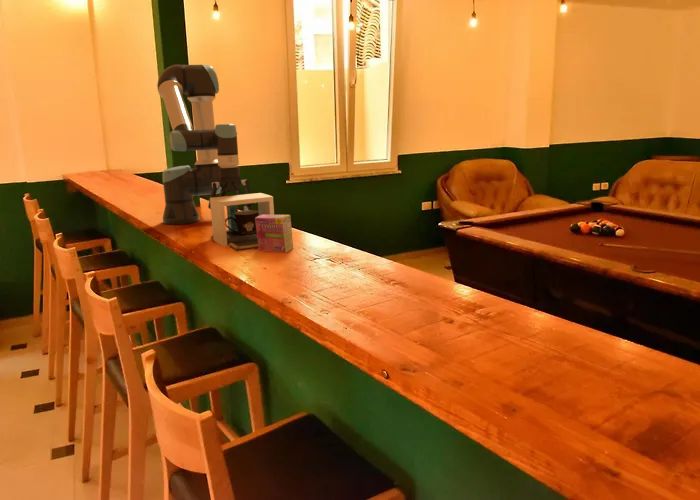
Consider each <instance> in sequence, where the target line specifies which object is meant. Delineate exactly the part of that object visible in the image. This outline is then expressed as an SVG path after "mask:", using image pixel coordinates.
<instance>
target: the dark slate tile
mask: <svg viewBox="0 0 700 500" xmlns="http://www.w3.org/2000/svg"><path fill="white" fill-rule="evenodd" d="M228 247H229V248H231V249H233V250H234V251H235V252H241V251H242V252H243V251H247V250H255V249H259V248H258V241H254V242H247V243H240V244H233V243H229V245H228Z"/></svg>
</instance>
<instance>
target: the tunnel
mask: <svg viewBox="0 0 700 500" xmlns="http://www.w3.org/2000/svg"><path fill="white" fill-rule="evenodd" d="M243 194H244V195H238V194H236V195H234V194H233V195H225V196H224V197H218V196H215V197H214V198H210V197H209V200H210V206H211V209H210V215H211V227H212V237H213V238H212V239H213V241H214V242H215V243H217V244H218V245H220V246H222V247H228V244H227V234H226V230H227V227H226V225H227V221H226V222H225V220H226V214H225V213H226V212H225V207H227V206H230V205H245V204H248V203H255V204H257V207H258V210H257V211H259V216H260V215H263V214H269V215H275V207H274V206H275V204H274V196H272V195H270V194H266V193H262V192H258V193H255V192H254V193H252V194H247V193H243Z"/></svg>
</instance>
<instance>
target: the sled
mask: <svg viewBox="0 0 700 500" xmlns="http://www.w3.org/2000/svg"><path fill="white" fill-rule="evenodd" d="M238 211H239V206H238V205H230V206H226V215H227V217H226V218H229V217H232V218H235V214H234V213H235V212H238ZM227 226H228V227H229V228H231V229H233V230H235V231H237V232H238V229H237V224H236V223H235V221H234V220H233V219H228V220H227ZM229 228H227V229H226V234H227V246H229V243H233V244H240V243H247V242H254V241H258V239H257V234H251V235H243V236H239V235H238V234H237V233H236V232H234V231H232V230H230V229H229Z"/></svg>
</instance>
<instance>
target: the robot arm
mask: <svg viewBox="0 0 700 500" xmlns="http://www.w3.org/2000/svg"><path fill="white" fill-rule="evenodd" d="M156 85H157V92H158V94H159V96H160V97H161V99H163V103H164V107H165V110H166V112H167V115H168V119H169V123H170V127H171V129H172V131H170V132H169V144H170V149H171V150H172V151H173V152H192V151H193V152H194V151H196V157H197V159H196V160H197V161H196V162H195V163H194V168H191V166H190V165H179V166H178V165H177V166H174V167H168V168H166V169H164V170H163V171H162V184H163V185H162V186H163V193H164V195H163V196H164V202H165V205H164V210H163V214H162V223H163V224H164V223H165V225H185V224H192V223H197V222H199V221H200V215H199V212H198V210H197V207H196V204H195V202H194V197H195V196H207V195H210V196H209V201H208V205H207V206H208V207H207V208H208V209H209V210H211V206H210V198H214V197H224V196H226V194H227V193H231V192H233V193H235V192H236V193H237V195H244V194H253V193H252V191H251V188H250V181H249V180H248V179H246V178H245V179H241V174H240V173H241V172H240V167H239V165H240V163H239V162H240V161H239V149H238V132H237V128H236V127H237V125H236V124H234V123H217V124H215V115H214V114H215V113H214V105H213V101H214V100H215V99H216V95H217V94H218V93H219V91H220V88H219V87H220V86H219V85H220V84H219V78H218V75H217V72H216V70H215V68H214V67H213V66H212V65H208V64H172V65H170V66H168V67H166V68H165V69H164V70H163V71H162V72H161V73H160V75H159V77H158V80H157V84H156ZM183 95H186V98H187V100H188V101H189V102H190V103H191V108H192V109H191V110H192V111H191V112H192V119H193V124H192V120H191V117H190V113H189V112H188V108H187V105H186V103H185V102H186V101H185V100H184V96H183ZM241 185H242V186H243V187H244V190H245V193H243V192H242V190H241V188H240V186H241ZM218 194H219V195H218ZM216 195H218V196H216ZM255 204H256V203H248V204H244V205H245V206H243V211H246V210H252V209H251V207H252V206H253V205H255Z"/></svg>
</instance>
